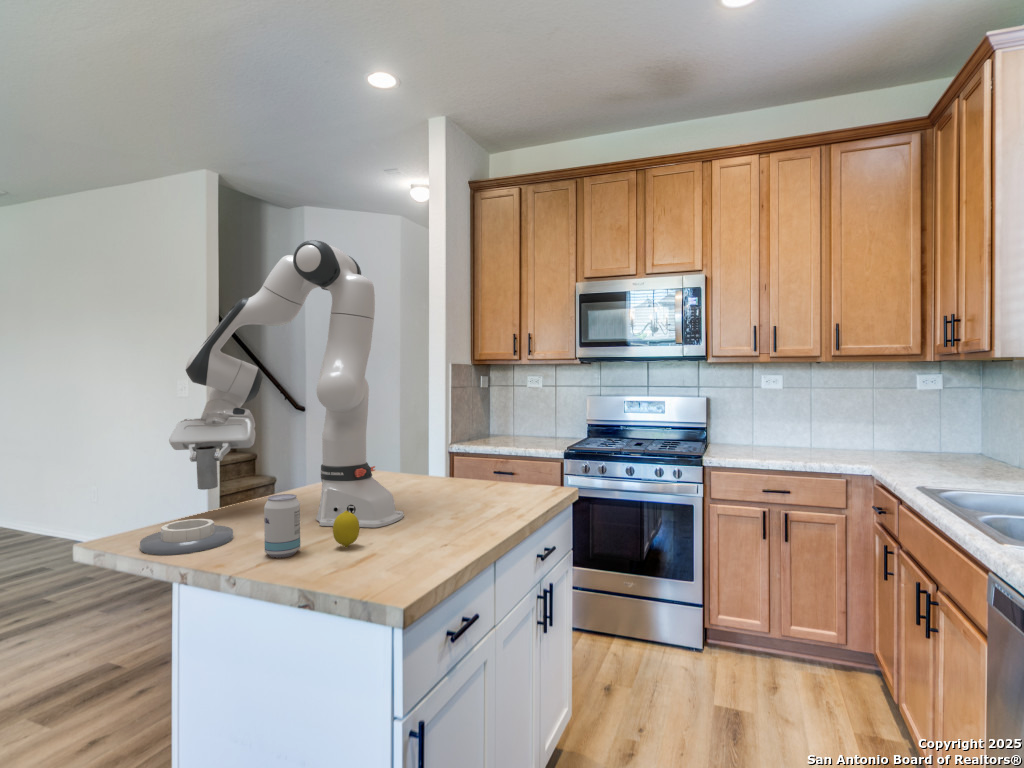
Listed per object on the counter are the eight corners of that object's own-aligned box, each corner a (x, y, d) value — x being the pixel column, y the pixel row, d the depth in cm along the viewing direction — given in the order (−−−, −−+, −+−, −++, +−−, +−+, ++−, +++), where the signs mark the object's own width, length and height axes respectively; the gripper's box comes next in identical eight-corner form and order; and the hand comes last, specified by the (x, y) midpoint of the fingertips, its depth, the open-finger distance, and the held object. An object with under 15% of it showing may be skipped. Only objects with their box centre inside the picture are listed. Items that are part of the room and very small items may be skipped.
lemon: (352, 552, 119) (351, 514, 118) (328, 550, 120) (327, 513, 120) (364, 544, 124) (363, 508, 124) (341, 543, 125) (340, 507, 125)
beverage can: (264, 551, 119) (264, 495, 119) (299, 547, 122) (299, 492, 122) (264, 561, 113) (263, 501, 113) (301, 556, 116) (300, 498, 115)
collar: (250, 535, 131) (250, 518, 131) (183, 558, 114) (183, 539, 114) (192, 528, 137) (192, 512, 137) (119, 550, 120) (119, 531, 120)
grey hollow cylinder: (202, 485, 146) (201, 446, 145) (220, 485, 146) (219, 446, 146) (194, 490, 141) (192, 449, 141) (213, 489, 142) (211, 449, 141)
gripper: (174, 411, 149) (157, 453, 139) (255, 409, 151) (243, 451, 142) (183, 427, 153) (166, 468, 144) (261, 425, 156) (250, 465, 146)
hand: (205, 459), depth 143 cm, fingers closed on grey hollow cylinder, 4 cm apart
